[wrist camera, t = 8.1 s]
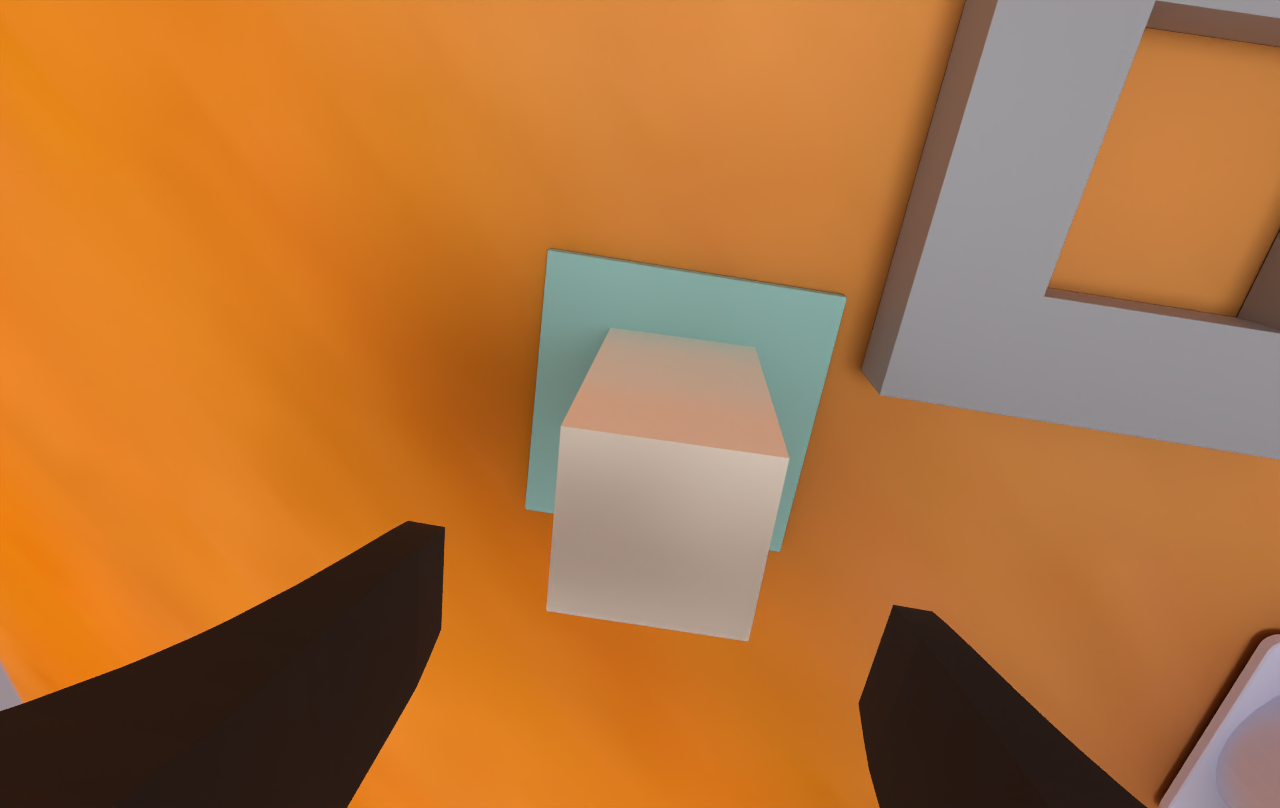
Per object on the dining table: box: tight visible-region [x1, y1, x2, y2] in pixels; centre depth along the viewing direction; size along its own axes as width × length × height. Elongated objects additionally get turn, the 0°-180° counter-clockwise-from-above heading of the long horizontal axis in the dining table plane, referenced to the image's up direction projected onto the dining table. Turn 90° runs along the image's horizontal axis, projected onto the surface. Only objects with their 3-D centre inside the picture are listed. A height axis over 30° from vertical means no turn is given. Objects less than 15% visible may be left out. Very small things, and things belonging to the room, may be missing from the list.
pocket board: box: [861, 0, 1280, 460], centre depth 15 cm, size 12×12×2 cm
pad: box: [525, 248, 847, 552], centre depth 19 cm, size 8×8×1 cm
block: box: [546, 328, 789, 641], centre depth 15 cm, size 4×4×7 cm
